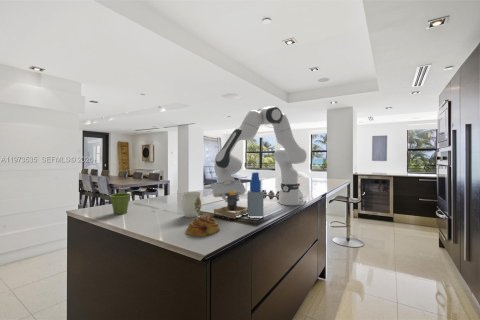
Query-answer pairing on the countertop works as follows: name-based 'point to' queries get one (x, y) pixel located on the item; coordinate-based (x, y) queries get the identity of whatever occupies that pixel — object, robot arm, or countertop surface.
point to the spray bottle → (255, 196)
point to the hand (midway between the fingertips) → (232, 201)
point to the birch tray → (225, 212)
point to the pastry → (202, 226)
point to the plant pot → (120, 202)
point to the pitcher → (191, 204)
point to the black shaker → (232, 202)
